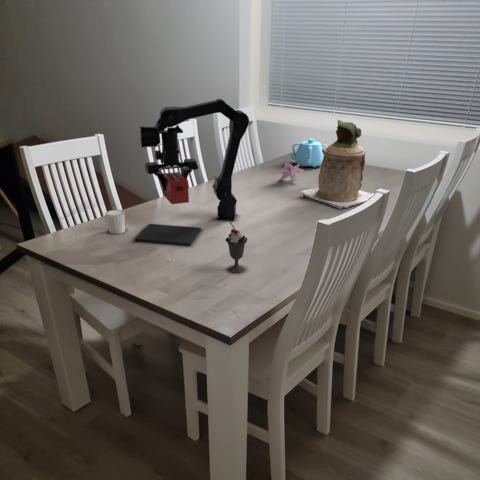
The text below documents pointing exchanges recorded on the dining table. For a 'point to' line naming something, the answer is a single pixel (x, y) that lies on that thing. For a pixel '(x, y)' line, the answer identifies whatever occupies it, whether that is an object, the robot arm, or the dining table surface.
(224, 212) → the robot arm
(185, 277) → the dining table surface
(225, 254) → the dining table surface
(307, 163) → the decorative pot
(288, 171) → the lily
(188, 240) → the placemat
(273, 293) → the dining table surface
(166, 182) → the toaster
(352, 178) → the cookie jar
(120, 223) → the shot glass
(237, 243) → the sundae
